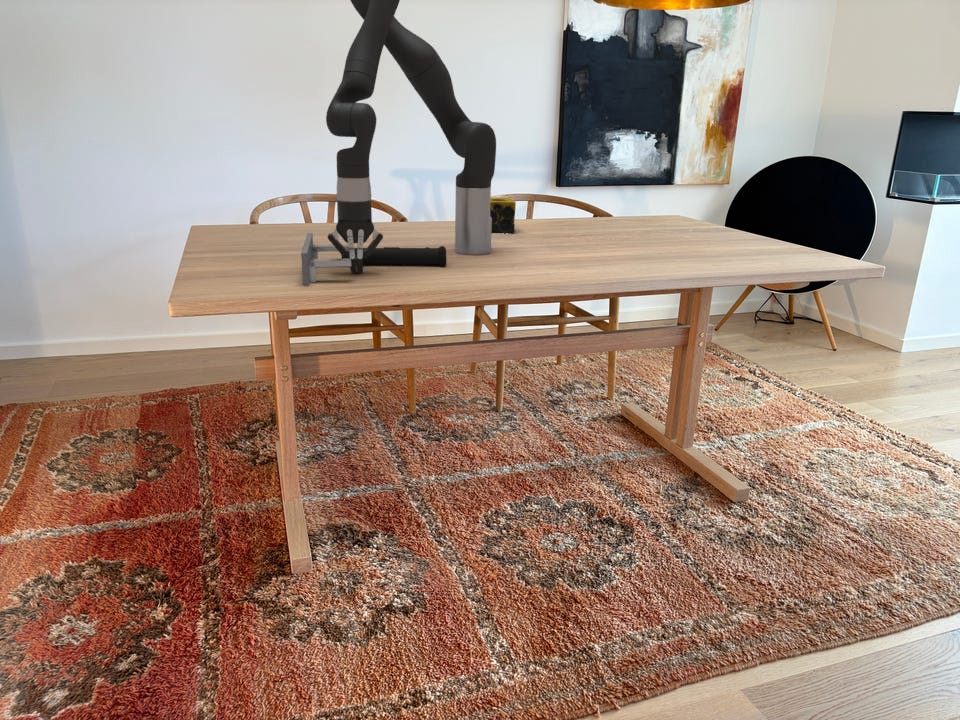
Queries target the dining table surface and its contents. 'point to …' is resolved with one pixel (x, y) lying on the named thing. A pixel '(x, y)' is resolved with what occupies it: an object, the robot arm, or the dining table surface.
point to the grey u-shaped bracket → (325, 262)
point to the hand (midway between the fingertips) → (356, 274)
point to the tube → (406, 256)
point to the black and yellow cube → (502, 215)
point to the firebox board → (306, 258)
